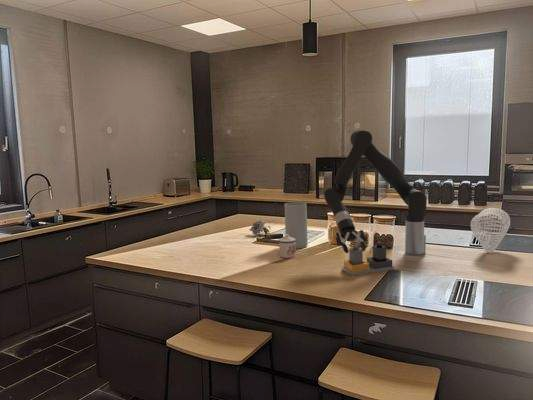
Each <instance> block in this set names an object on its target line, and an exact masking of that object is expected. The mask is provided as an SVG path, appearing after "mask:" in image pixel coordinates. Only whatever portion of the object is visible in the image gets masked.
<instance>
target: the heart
mask: <svg viewBox="0 0 533 400" xmlns="http://www.w3.org/2000/svg"><path fill="white" fill-rule="evenodd" d="M510 226H511V217H510V215H509V214H508V212H506V211H505V210H503V209H501V208H498V207H489V208H486V209H485V208H484V209H482V210H481V211H480V212H479V213H478V214H475V216H474V217H472V219H471V221H470V229H471V232H472V235H473V236H474V238H476V240H477V241H478V243H479V244H480V245H481V247H482V249H484V251H485V252H486V253H487V254H491V253H493V252H494V251H495V250H496V249H497V248H498V246H499V245H500V243H501V242H502V240H503V239H504V237H505V236H506V234H507V232H508V230H509V229H510Z"/></svg>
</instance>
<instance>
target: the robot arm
mask: <svg viewBox="0 0 533 400" xmlns="http://www.w3.org/2000/svg"><path fill="white" fill-rule="evenodd" d="M350 144H351V146H352V147H351V149H350V151H349V154H348V155H347V157H346V158H345V159H344V161H343V162H342V163H341V165H340V167H339V169H338V170H337V173H336V175H335V177H334V179H333V182H334V184H335V188H334V187H327V188H326V189H325V190H324V192H323V198H324V201H325V202H326V204H327V205H328V207H329V208H330V209H331V211H332V215H333V218H334V220H335V224H336V226H337V229H338V232H336V233H335V235H334V239H335V242H336V245H337V246H338V247H342V249H343V252H344V253H345V254H348V253H349V248H348V246H347V244H346V243H347V242H348V243H349V242H356V243H358V245H359V246H360V249H362V250H363V252H365V251H366V249H367V246H366V244H365V243H366V242H367V240H368V238H367V237H366V234H365V233H364V230H363V229H360V230H359V231H358V230H356V227H355V225H354V224H355V223H354V222H353V219H352V216H351V215H350V212H349V211H348V208H347V207H346V205H345V204H344V203H343V200H344V198H345V196H346V190H347V186H348V184H349V181H350V179H351V177H352V176H353V173H354V172H355V170H356V167H357V166H358V164H359V162H360V160H361V158H362V157H363V156H364V158H365V159H367V161H368V162H369V163H370V165H371V167H373V168H374V169H375V171H376V172H377V173H378V174H379V175H380V177H381V178H383V180H385V182H386V183H387V184H389V185H390V186H391V187H392V188H393V189H394V190H395V192H396V193H397V194H398V196H399V197H400V198H401V200H402V201H403V203H404V204H405V205H406V206H408V209H407V210H408V213H407V214H405V230H404V231H405V234H404V236H405V239H404V240H405V243H404V244H405V248H404V249H405V250H404V252H405V253H406V254H408V255H411V256H413V255H414V256H419V255H423V254H425V253H426V251H427V249H426V246H427V245H426V244H427V243H426V240H427V236H426V234H425V217H426V214H427V200H428V199H427V196H426V194H425V192H423V191H421V190H419V189H416V188H414V187H413V186H412V185H411V184H410V183H409V182H408V181H407V180H406V178H405V177H404V175H403V172H402V171H401V169H400V168H399V166H398V165H397V164H396V163H395V161H393V159H391V157H390V156H388V155H387V154H385V153H384V152H382V151H381V150H380V149H378V148H377V147H376V146H375V145H374V143H373V134H372V133H371V132H370V131H369V130H367V129H359V130H356V131H354V132H352V133H351V134H350ZM341 239H343V240H341Z"/></svg>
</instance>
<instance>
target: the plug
mask: <svg viewBox="0 0 533 400" xmlns="http://www.w3.org/2000/svg"><path fill="white" fill-rule="evenodd" d="M359 246H360V244H357V243H355V244H352V247H351V248H348V250H349V252H348V253H349V257H348V258H349V260H350V263H351V264H353V265H354V264H362V263H363V260H364V257H363V256H364V255H363V252H364V251H363V250H362V249H361V247H360V248H359Z"/></svg>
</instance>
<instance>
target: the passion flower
mask: <svg viewBox="0 0 533 400" xmlns="http://www.w3.org/2000/svg"><path fill="white" fill-rule="evenodd" d="M265 225H266V222H263V223H262V220H261V219H259V220H258V221H255V222H253V223H252V226H251V227H250V229H249V230H248V231H249V232H252V235H254V237H256V236H257V235H258V236H259V235H260V234H261V233H262V234H264V235H265V234H270V229H271V226H270V225H267V226H265ZM267 227H268V228H269V229H268V228H267Z"/></svg>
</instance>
